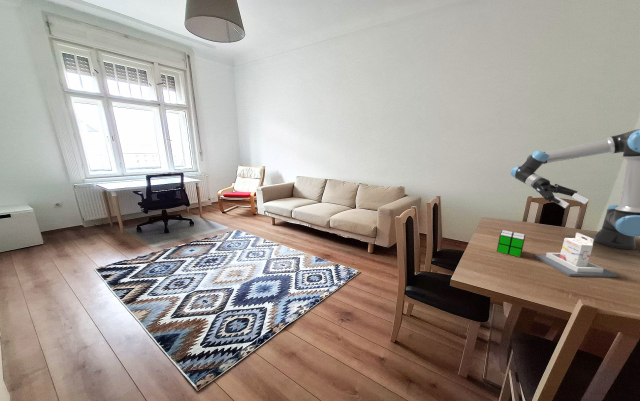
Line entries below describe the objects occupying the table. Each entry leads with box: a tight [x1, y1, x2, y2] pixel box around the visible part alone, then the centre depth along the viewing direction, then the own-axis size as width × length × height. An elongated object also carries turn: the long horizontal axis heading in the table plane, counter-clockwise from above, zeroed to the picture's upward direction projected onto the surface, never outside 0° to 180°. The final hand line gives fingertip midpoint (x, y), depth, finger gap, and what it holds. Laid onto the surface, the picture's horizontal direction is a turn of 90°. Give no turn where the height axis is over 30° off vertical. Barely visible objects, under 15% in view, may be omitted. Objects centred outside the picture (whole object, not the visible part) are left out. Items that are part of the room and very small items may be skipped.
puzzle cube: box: [496, 229, 526, 258], centre depth 123 cm, size 10×10×10 cm
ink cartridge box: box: [559, 232, 595, 267], centre depth 107 cm, size 9×5×15 cm, turn 175°
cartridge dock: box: [533, 252, 618, 278], centre depth 109 cm, size 20×18×3 cm
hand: (577, 204), depth 119 cm, fingers open, 13 cm apart
